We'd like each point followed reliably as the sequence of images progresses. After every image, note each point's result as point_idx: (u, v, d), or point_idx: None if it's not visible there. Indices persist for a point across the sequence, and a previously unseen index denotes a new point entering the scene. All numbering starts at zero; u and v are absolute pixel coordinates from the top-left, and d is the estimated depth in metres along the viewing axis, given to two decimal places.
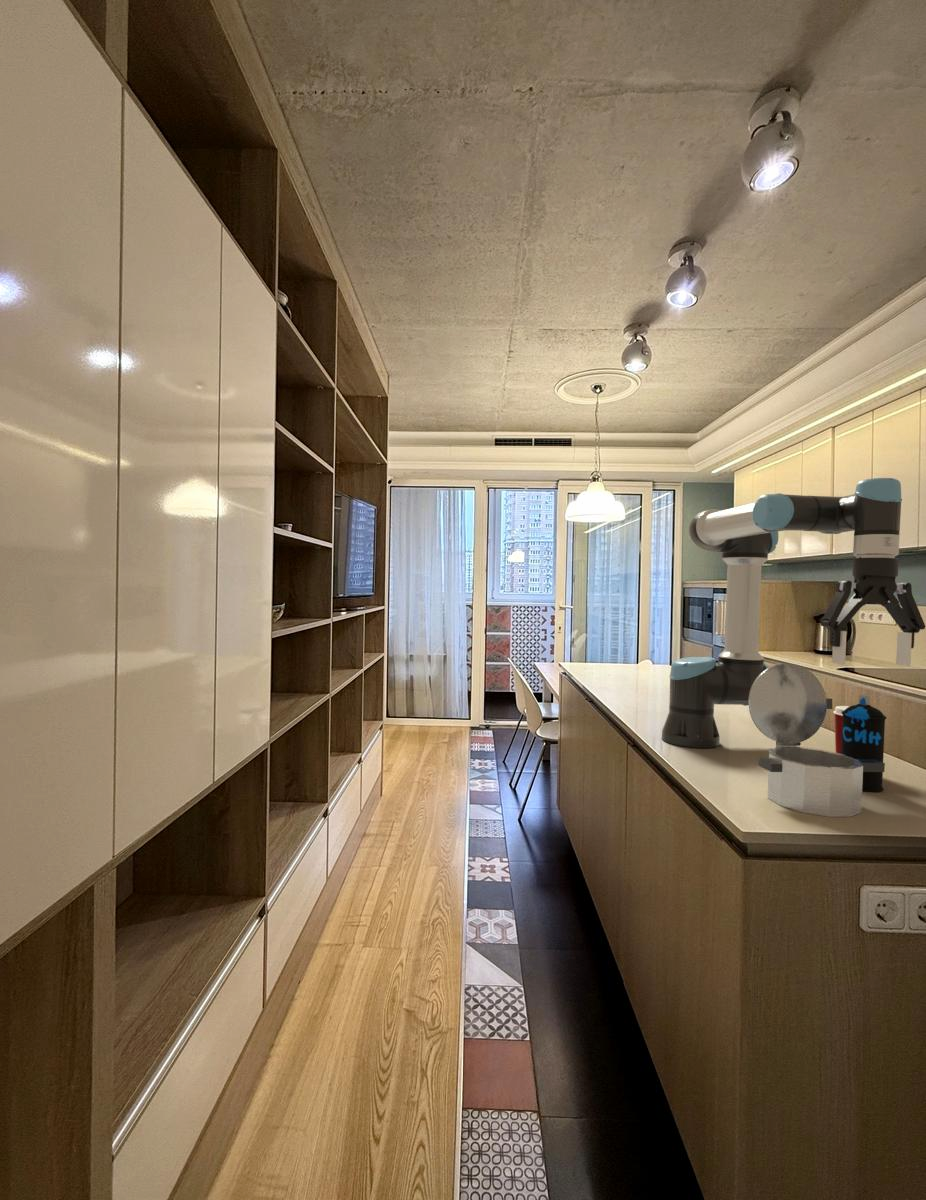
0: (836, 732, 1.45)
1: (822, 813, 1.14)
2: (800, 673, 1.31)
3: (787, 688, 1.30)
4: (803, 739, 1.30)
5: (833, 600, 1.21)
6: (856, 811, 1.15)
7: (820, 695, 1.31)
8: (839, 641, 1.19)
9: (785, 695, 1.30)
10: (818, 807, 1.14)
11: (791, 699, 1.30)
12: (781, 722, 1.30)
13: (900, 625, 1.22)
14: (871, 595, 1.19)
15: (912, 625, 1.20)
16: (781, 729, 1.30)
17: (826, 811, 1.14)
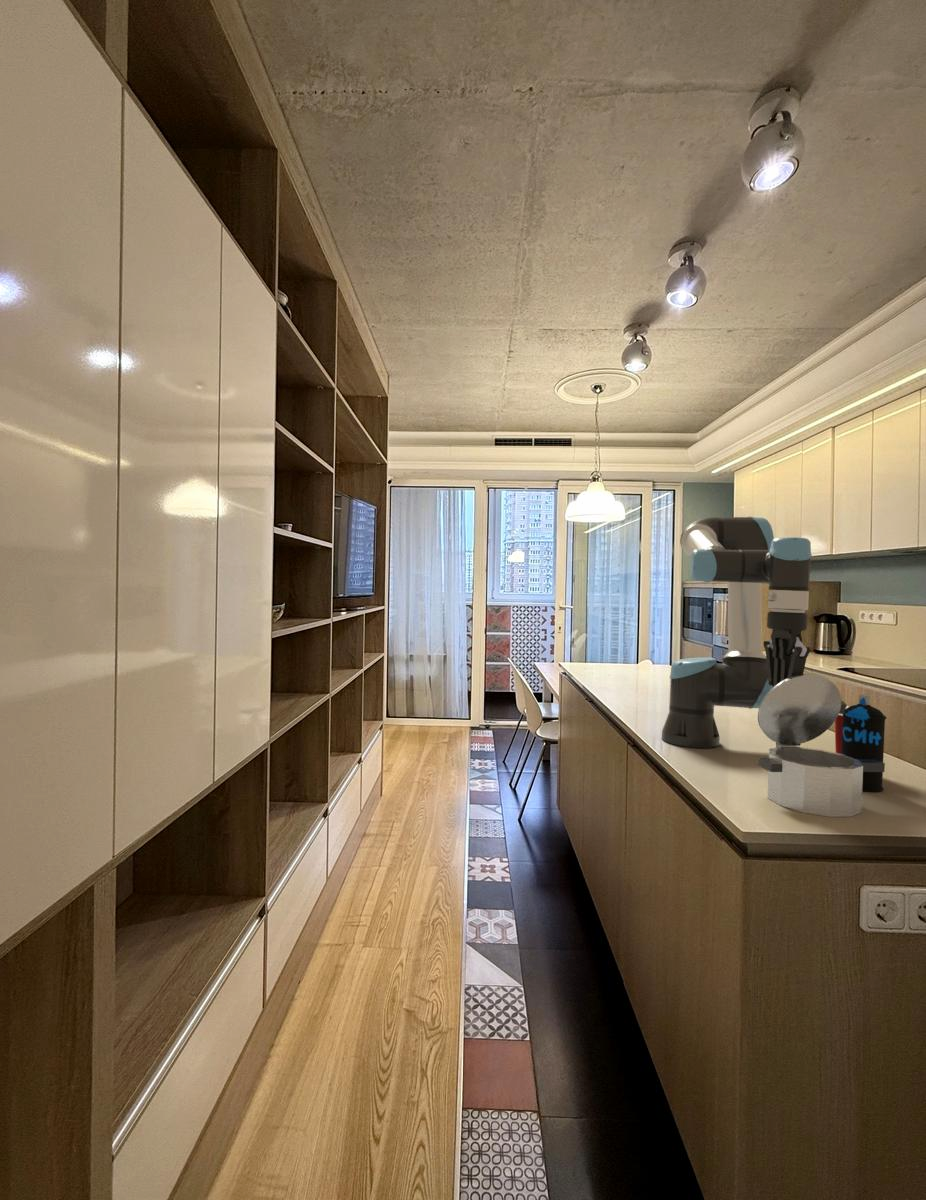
0: (836, 732, 1.45)
1: (822, 813, 1.14)
2: (822, 684, 1.24)
3: (803, 698, 1.25)
4: (804, 741, 1.29)
5: None
6: (856, 811, 1.15)
7: (835, 704, 1.26)
8: None
9: (799, 704, 1.25)
10: (818, 807, 1.14)
11: (804, 707, 1.26)
12: (787, 727, 1.28)
13: None
14: (775, 646, 1.29)
15: None
16: (785, 733, 1.28)
17: (826, 811, 1.14)
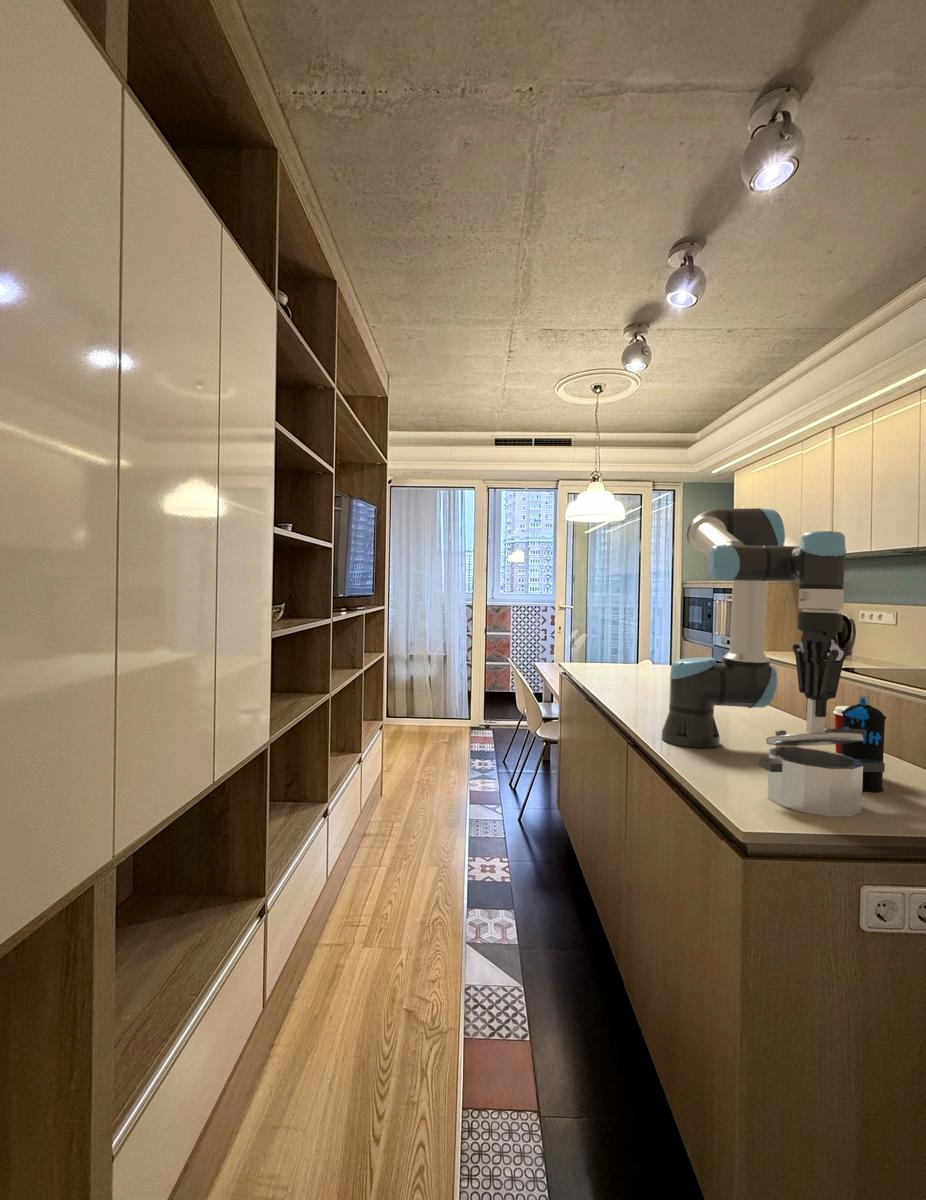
0: None
1: (822, 813, 1.14)
2: (848, 739, 1.16)
3: (822, 740, 1.19)
4: (805, 745, 1.29)
5: None
6: (856, 811, 1.15)
7: (853, 741, 1.20)
8: None
9: (815, 741, 1.20)
10: (818, 807, 1.14)
11: (819, 741, 1.21)
12: (793, 743, 1.25)
13: None
14: (806, 650, 1.19)
15: (816, 692, 1.16)
16: (788, 744, 1.27)
17: (826, 811, 1.14)
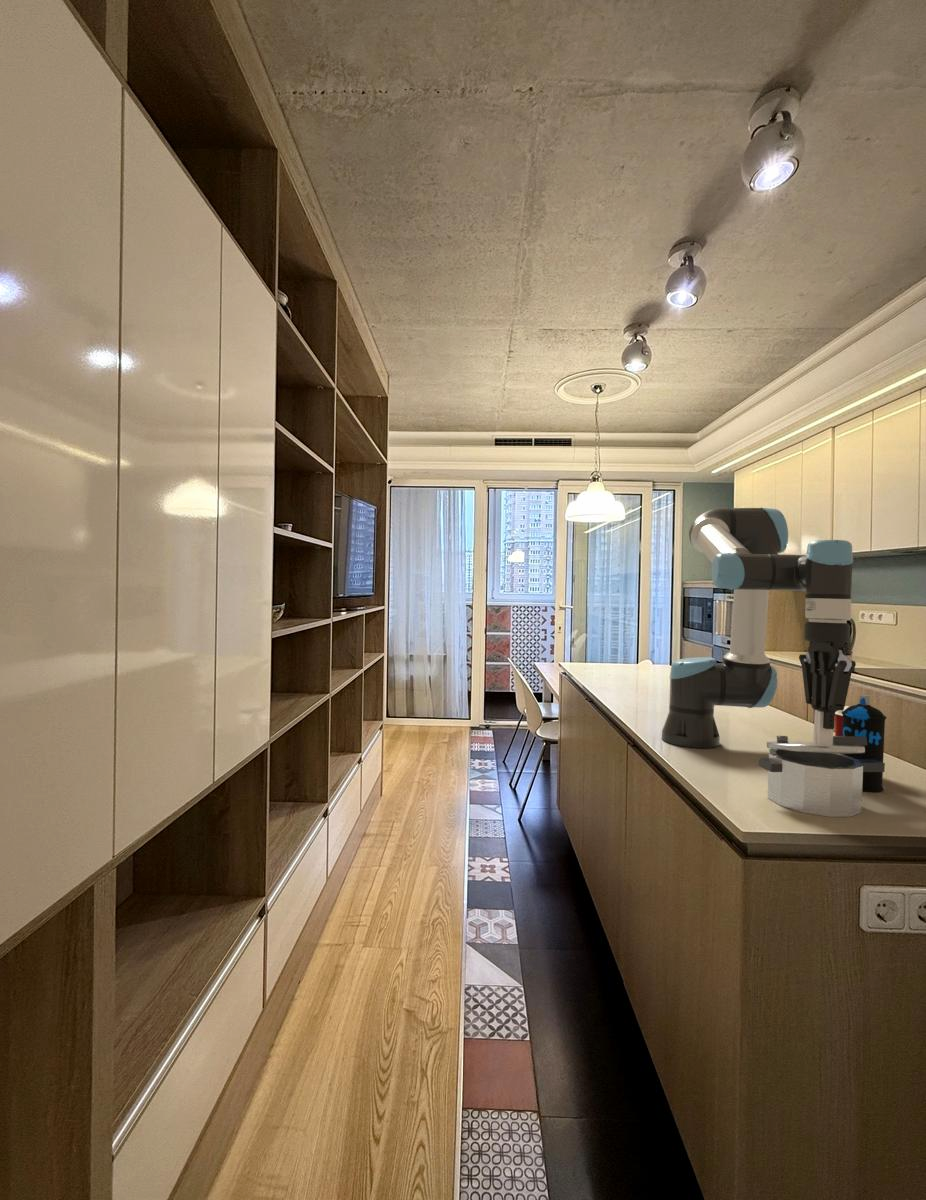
0: (836, 732, 1.45)
1: (822, 813, 1.14)
2: None
3: None
4: None
5: None
6: (856, 811, 1.15)
7: None
8: None
9: None
10: (818, 807, 1.14)
11: None
12: None
13: None
14: (813, 660, 1.17)
15: (823, 704, 1.14)
16: None
17: (826, 811, 1.14)
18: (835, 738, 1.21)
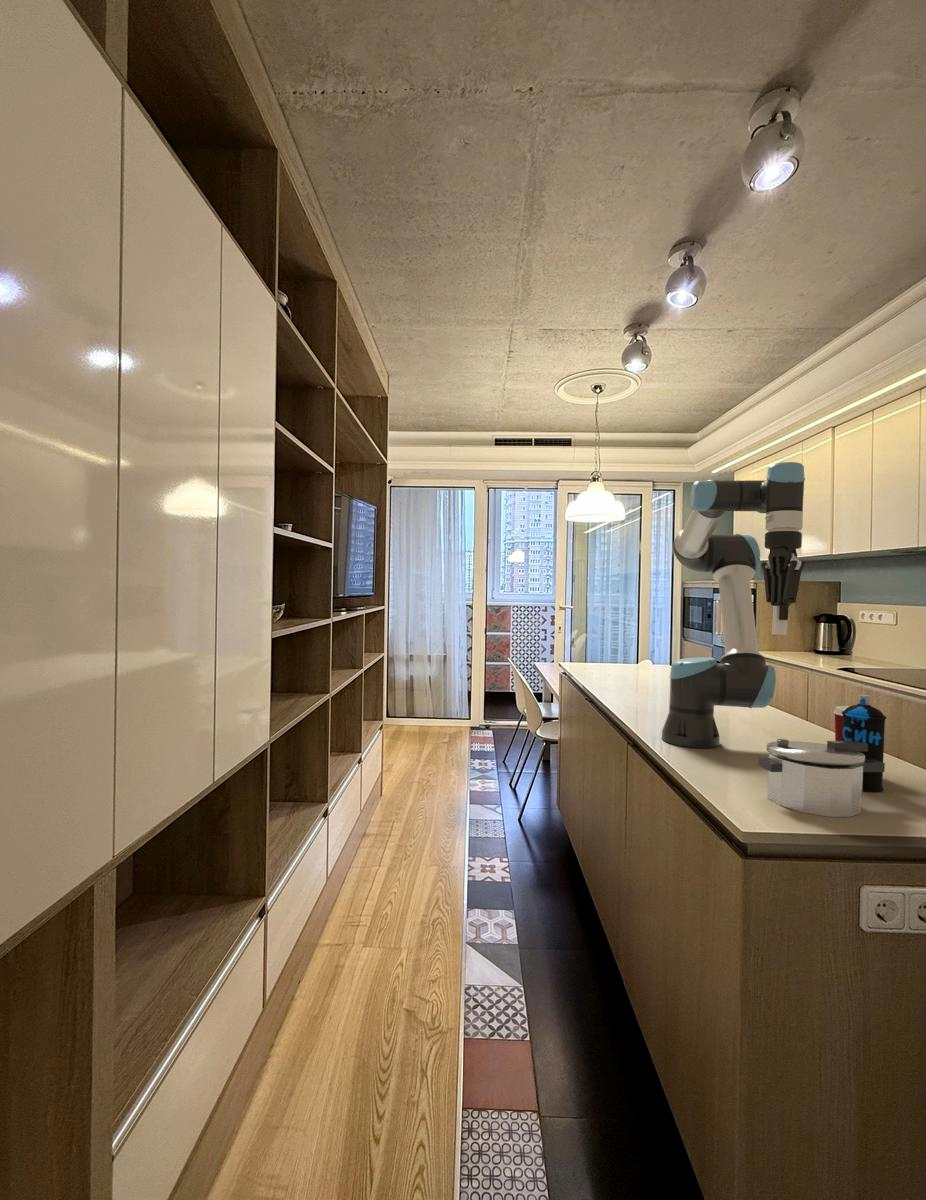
0: (836, 732, 1.45)
1: (822, 813, 1.14)
2: None
3: None
4: None
5: None
6: (856, 811, 1.15)
7: None
8: None
9: None
10: (818, 807, 1.14)
11: None
12: None
13: None
14: (772, 564, 1.40)
15: (779, 599, 1.38)
16: None
17: (826, 811, 1.14)
18: (836, 744, 1.21)
